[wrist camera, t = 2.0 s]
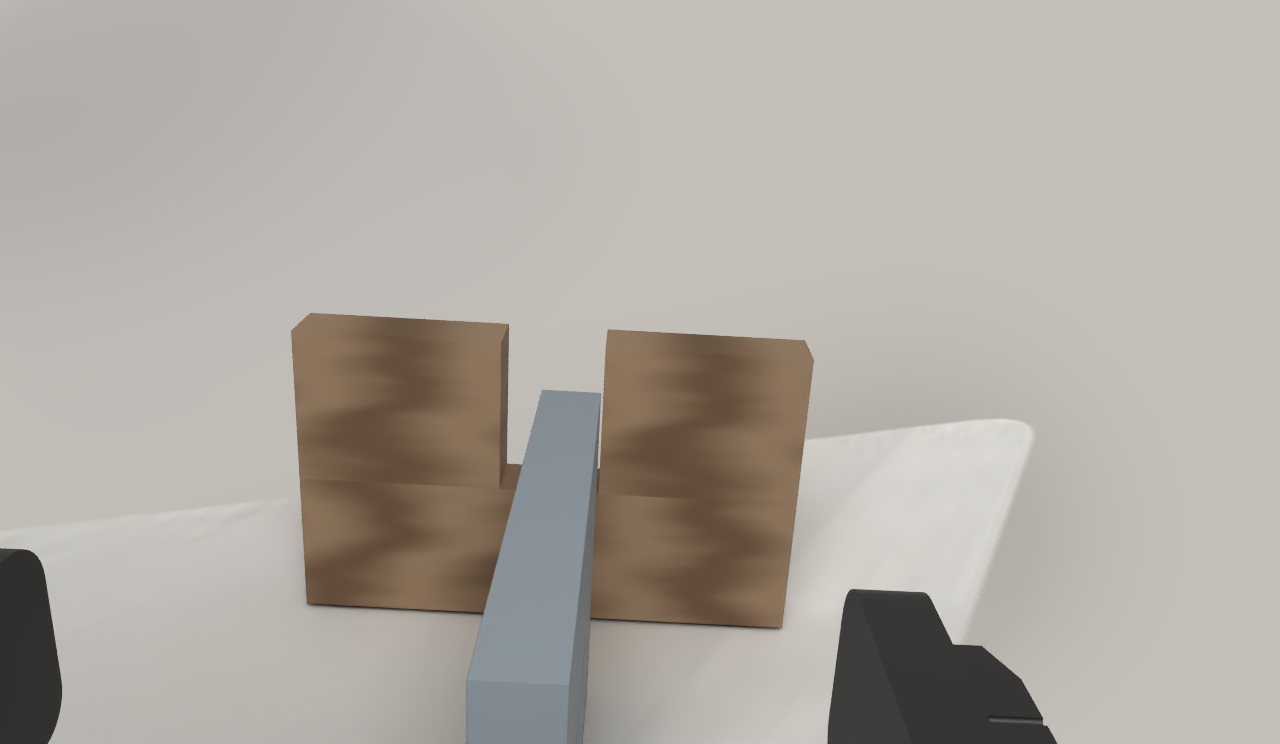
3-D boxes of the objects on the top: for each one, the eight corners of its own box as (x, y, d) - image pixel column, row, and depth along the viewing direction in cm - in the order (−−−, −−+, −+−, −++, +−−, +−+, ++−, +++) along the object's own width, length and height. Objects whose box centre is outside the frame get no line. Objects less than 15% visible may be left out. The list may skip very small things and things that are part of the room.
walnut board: (306, 603, 44) (291, 330, 40) (323, 573, 46) (310, 313, 42) (781, 627, 44) (813, 360, 40) (775, 597, 46) (804, 340, 42)
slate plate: (466, 1111, 24) (466, 680, 20) (533, 686, 39) (542, 389, 35) (551, 1115, 24) (569, 685, 20) (586, 689, 39) (600, 393, 35)
